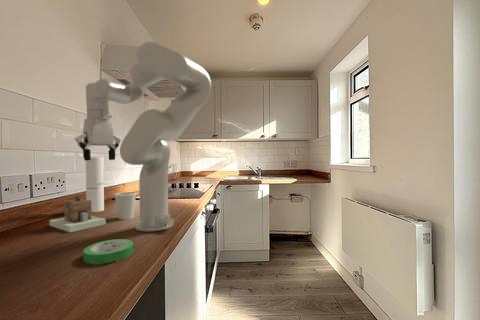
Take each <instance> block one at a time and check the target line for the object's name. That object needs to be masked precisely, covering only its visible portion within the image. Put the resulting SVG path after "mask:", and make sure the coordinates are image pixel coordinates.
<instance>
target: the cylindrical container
mask: <svg viewBox="0 0 480 320" xmlns="http://www.w3.org/2000/svg"><path fill="white" fill-rule="evenodd" d="M104 185H105V184H104V157H102V156H101V157H100V156H99V157H96V156H95V157H92V156H91V160H87V161H85V187H86V189H85V192H86V196H85V197H86V200H91V210H92V213H98V212H103V211H105V195H104V194H105V191H104V190H105V189H104V187H105V186H104Z"/></svg>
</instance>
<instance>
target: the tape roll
mask: <svg viewBox="0 0 480 320" xmlns="http://www.w3.org/2000/svg"><path fill="white" fill-rule="evenodd" d="M133 242H134V241H132V240H130V239H124V238H123V239H122V238H121V239H119V238H117V239H116V238H115V239H109V240H108V239H107V240H104V241H103V240H102V241H99V242H95V243H93V244H90V245H87V247H85V248H84V249H83V252H82V253H83V254H82V255H83V257H82V258H83V262H84V263H85V262H86V263H85V264H88V263H90V264H89V265H103V264H102V263H108V264H110V263H109V262H113V261H117V260H120V261H122V260H121V259H123V258H125V259H127V258H126V257H128V256H129V257H131V256H132V255H133V254H134V243H133ZM108 250H109V251H108ZM132 253H133V254H132ZM131 254H132V255H131ZM130 255H131V256H130ZM129 257H128V258H129ZM123 260H124V259H123ZM117 262H118V261H117ZM113 263H114V262H113Z"/></svg>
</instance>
